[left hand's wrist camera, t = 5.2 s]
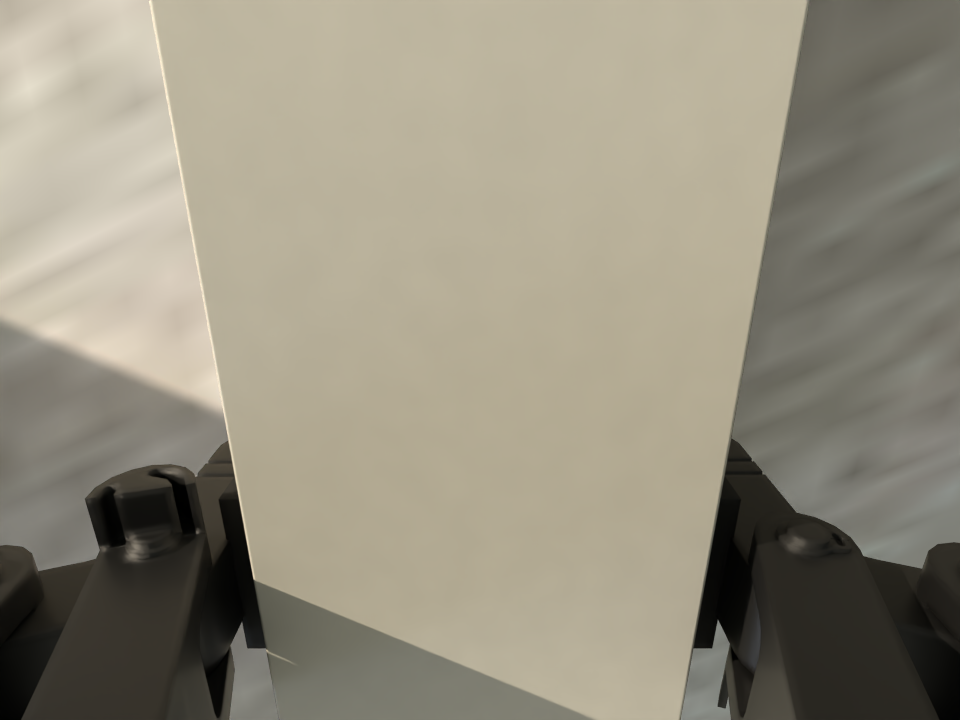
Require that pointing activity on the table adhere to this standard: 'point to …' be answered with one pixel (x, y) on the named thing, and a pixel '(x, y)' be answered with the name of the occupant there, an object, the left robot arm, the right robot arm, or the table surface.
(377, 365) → the bar
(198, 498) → the left robot arm
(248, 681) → the table surface
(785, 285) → the table surface
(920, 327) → the table surface
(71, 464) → the table surface
